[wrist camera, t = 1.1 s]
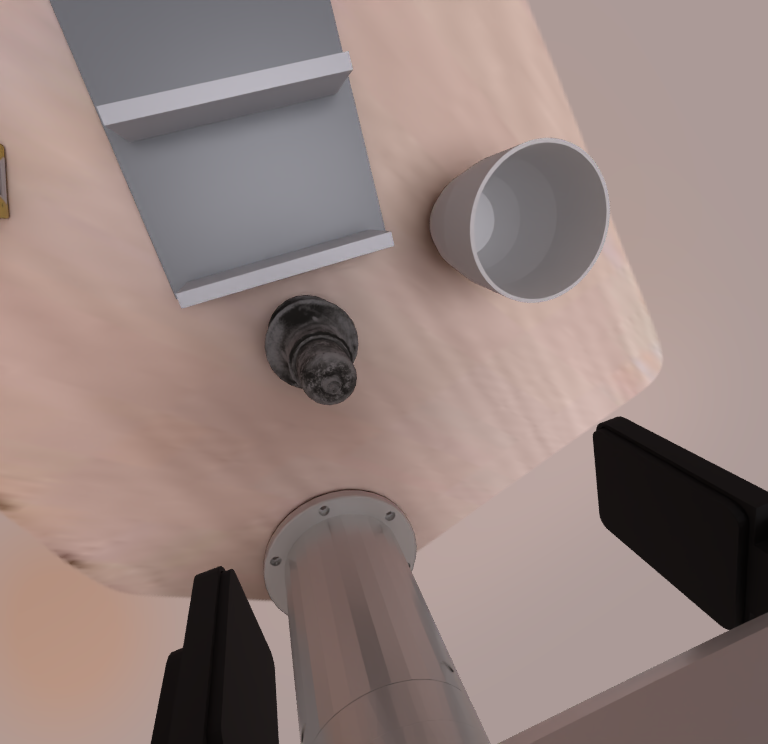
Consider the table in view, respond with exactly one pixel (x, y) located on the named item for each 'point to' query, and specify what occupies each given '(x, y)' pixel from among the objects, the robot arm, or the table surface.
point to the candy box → (3, 186)
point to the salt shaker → (313, 348)
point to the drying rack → (231, 135)
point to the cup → (525, 220)
